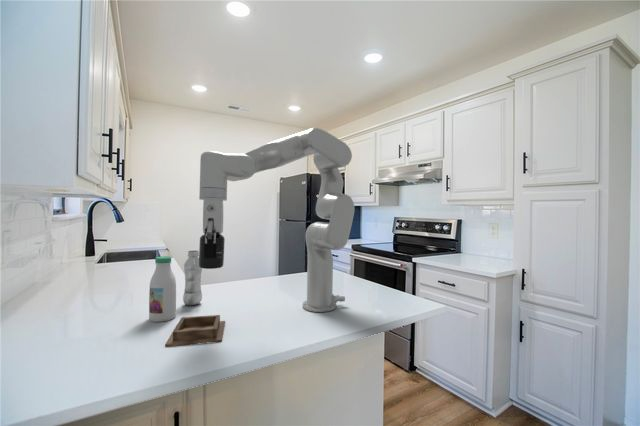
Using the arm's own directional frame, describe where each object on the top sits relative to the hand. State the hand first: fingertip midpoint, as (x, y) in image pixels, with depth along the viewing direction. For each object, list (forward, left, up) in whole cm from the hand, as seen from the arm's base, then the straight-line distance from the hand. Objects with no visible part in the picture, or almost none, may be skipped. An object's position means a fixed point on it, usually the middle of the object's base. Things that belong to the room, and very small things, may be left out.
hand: (211, 255), depth 86 cm
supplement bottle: (0, 0, -4) cm, 4 cm away
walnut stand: (+3, 0, -22) cm, 23 cm away
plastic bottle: (+9, -28, -23) cm, 37 cm away
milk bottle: (+16, -15, -23) cm, 31 cm away
